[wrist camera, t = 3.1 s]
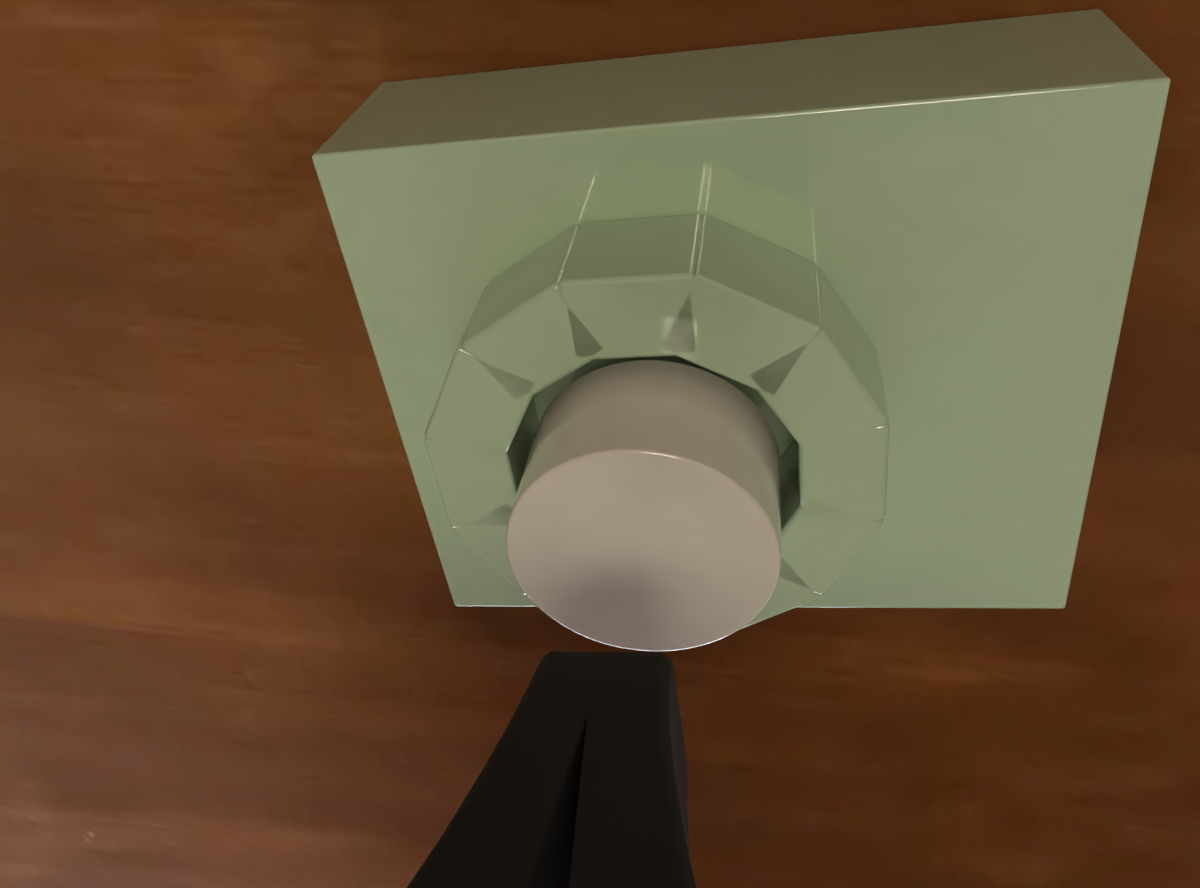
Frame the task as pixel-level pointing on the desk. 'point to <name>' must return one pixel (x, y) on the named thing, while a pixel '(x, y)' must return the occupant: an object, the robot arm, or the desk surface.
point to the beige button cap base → (774, 282)
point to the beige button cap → (649, 508)
